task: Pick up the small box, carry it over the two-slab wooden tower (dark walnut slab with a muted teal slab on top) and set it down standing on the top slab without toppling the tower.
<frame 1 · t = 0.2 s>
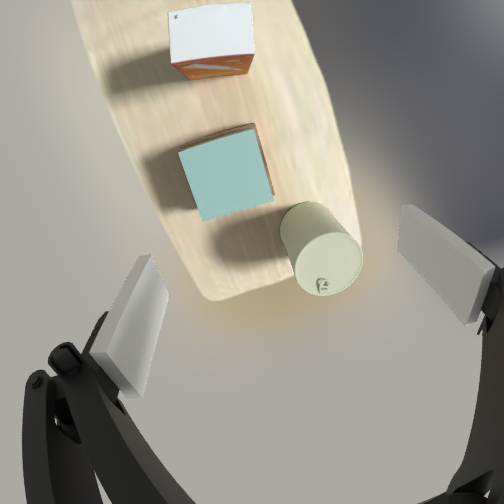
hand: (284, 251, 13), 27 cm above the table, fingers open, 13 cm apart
top slab: (227, 169, 34), point 3 cm above the table, touching bottom slab
bottom slab: (228, 165, 38), on the table, touching top slab
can: (307, 228, 43), on the table
small box: (217, 57, 30), on the table
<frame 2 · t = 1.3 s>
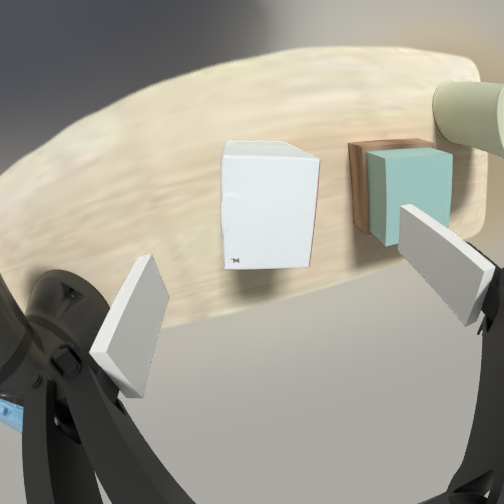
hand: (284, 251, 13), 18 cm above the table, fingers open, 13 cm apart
top slab: (402, 187, 27), point 4 cm above the table, touching bottom slab
bottom slab: (385, 178, 30), on the table, touching top slab
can: (454, 111, 25), on the table
small box: (254, 175, 29), on the table
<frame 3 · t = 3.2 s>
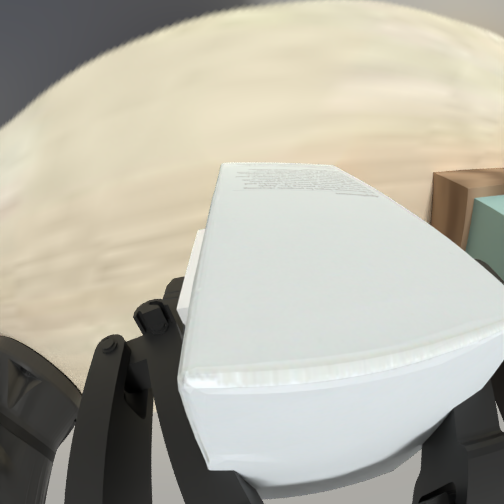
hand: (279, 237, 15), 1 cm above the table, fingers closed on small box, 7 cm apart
top slab: (498, 251, 14), point 4 cm above the table, touching bottom slab
bottom slab: (468, 226, 17), on the table, touching top slab
small box: (277, 227, 16), on the table, touching gripper
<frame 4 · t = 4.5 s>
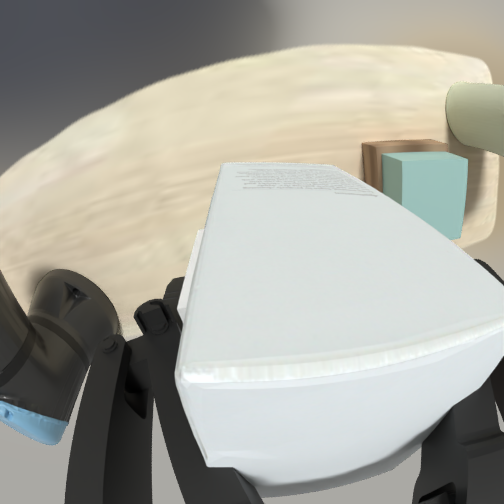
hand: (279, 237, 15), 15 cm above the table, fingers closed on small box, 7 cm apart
top slab: (416, 191, 25), point 4 cm above the table
bottom slab: (399, 179, 29), on the table
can: (466, 113, 24), on the table
small box: (277, 227, 16), point 14 cm above the table, touching gripper
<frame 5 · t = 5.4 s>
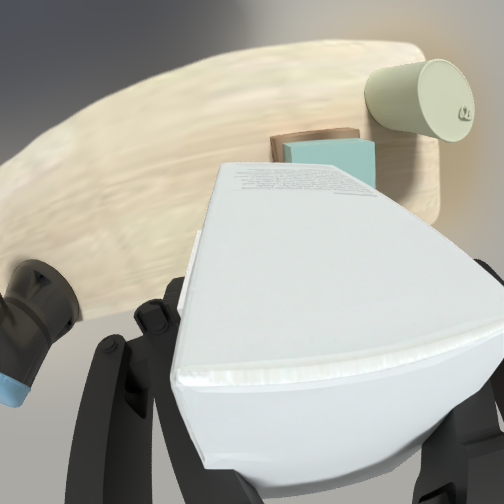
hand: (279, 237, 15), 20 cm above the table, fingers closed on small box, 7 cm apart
top slab: (325, 178, 30), point 4 cm above the table, touching bottom slab
bottom slab: (314, 168, 33), on the table, touching top slab
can: (392, 98, 29), on the table
small box: (276, 227, 16), point 18 cm above the table, touching gripper
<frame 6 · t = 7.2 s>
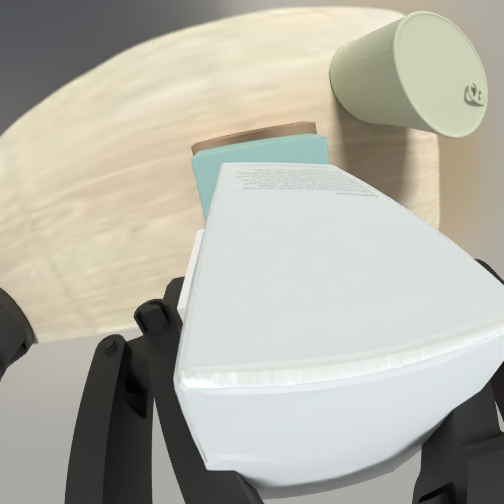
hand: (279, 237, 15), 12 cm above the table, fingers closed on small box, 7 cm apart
top slab: (263, 193, 22), point 4 cm above the table, touching bottom slab
bottom slab: (260, 180, 26), on the table, touching top slab
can: (371, 81, 21), on the table
small box: (277, 227, 16), point 11 cm above the table, touching gripper
when the fingers open (10 cm above the table, at t = 7.9 s): small box drops 1 cm, resting on top slab.
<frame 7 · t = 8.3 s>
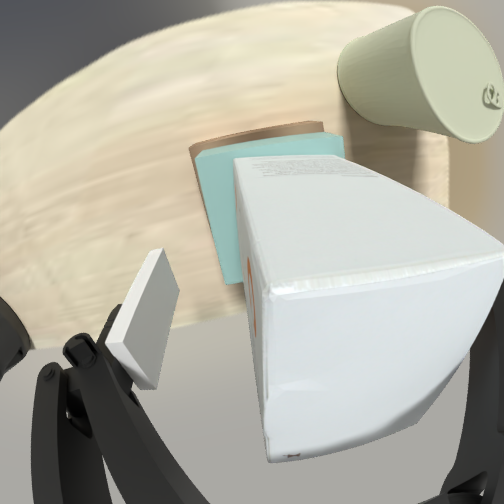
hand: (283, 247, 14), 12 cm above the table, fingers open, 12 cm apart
top slab: (272, 196, 21), point 4 cm above the table, touching bottom slab, small box
bottom slab: (263, 183, 24), on the table, touching top slab
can: (380, 79, 19), on the table
small box: (286, 215, 17), point 7 cm above the table, touching top slab
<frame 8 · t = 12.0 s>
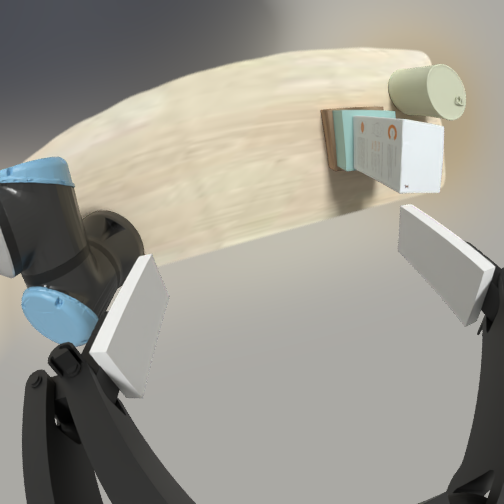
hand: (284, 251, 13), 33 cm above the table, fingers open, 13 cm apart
top slab: (360, 137, 38), point 3 cm above the table, touching bottom slab, small box
bottom slab: (350, 135, 42), on the table, touching top slab
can: (407, 91, 37), on the table
small box: (371, 142, 35), point 7 cm above the table, touching top slab
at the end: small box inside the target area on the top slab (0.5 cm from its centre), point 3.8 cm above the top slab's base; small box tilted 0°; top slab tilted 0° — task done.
